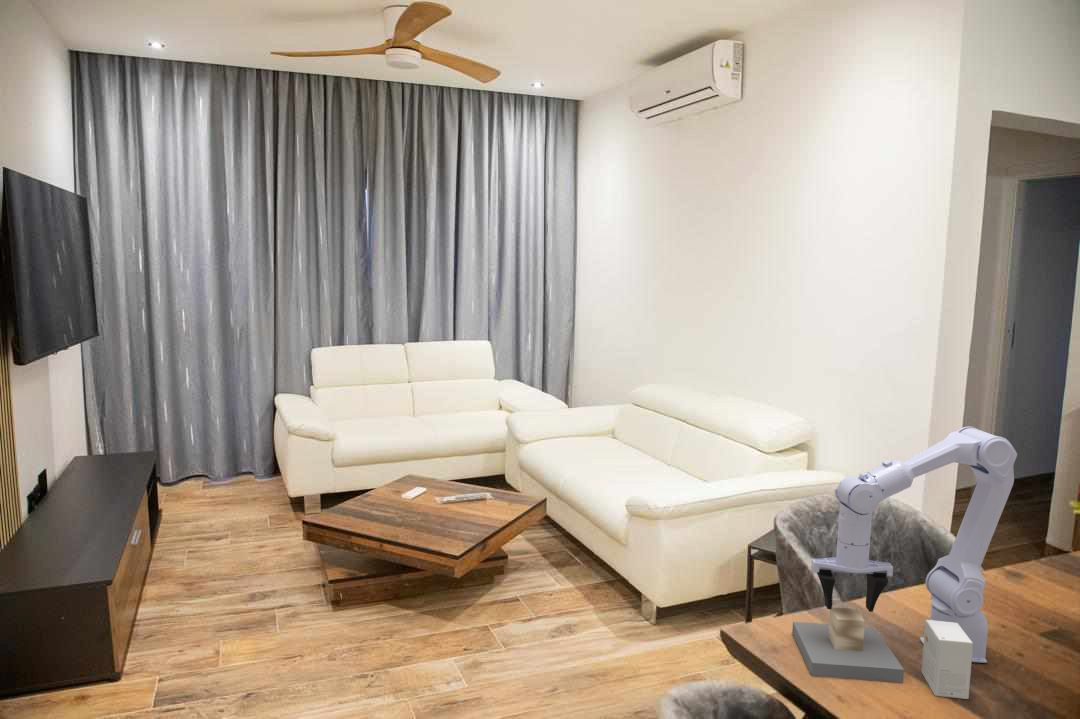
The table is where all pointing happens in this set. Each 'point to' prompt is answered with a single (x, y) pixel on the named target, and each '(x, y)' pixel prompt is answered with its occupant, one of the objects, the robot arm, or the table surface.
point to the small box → (947, 659)
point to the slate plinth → (846, 655)
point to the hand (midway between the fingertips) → (848, 608)
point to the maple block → (846, 629)
